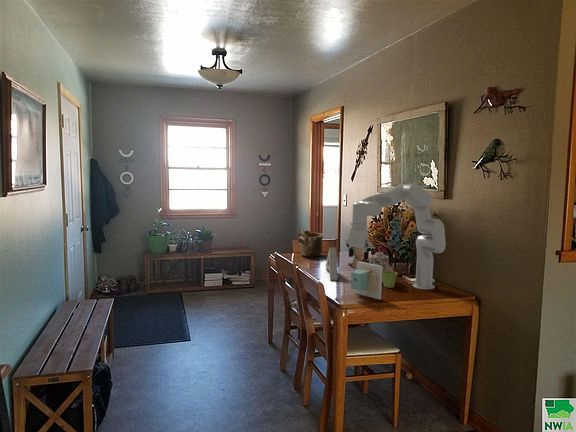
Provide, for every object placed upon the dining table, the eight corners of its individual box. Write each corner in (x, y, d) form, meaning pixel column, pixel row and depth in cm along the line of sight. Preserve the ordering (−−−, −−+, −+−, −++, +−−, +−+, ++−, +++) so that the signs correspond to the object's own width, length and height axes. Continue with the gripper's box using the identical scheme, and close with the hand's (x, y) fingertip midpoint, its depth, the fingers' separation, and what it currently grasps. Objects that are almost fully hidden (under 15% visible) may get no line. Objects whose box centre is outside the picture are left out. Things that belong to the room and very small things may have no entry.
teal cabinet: (362, 284, 242) (362, 268, 241) (371, 286, 238) (371, 270, 237) (350, 288, 235) (350, 272, 234) (359, 291, 231) (359, 274, 229)
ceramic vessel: (337, 247, 349) (319, 223, 342) (314, 267, 345) (296, 243, 339) (327, 242, 370) (310, 219, 364) (305, 261, 367) (287, 238, 360)
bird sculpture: (346, 265, 323) (347, 222, 319) (361, 264, 326) (362, 222, 322) (353, 269, 312) (353, 224, 309) (368, 268, 315) (368, 224, 312)
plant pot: (378, 284, 268) (379, 270, 267) (394, 284, 268) (394, 270, 268) (383, 288, 258) (383, 274, 258) (398, 288, 259) (399, 274, 258)
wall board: (356, 292, 248) (358, 261, 246) (380, 299, 237) (382, 266, 235) (351, 294, 244) (352, 262, 242) (375, 300, 233) (376, 267, 231)
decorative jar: (388, 279, 282) (389, 251, 280) (387, 283, 271) (388, 254, 269) (369, 277, 285) (370, 250, 284) (367, 281, 274) (368, 253, 273)
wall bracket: (332, 296, 299) (337, 279, 273) (326, 295, 299) (330, 279, 273) (331, 266, 310) (336, 247, 284) (325, 265, 310) (329, 247, 284)
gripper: (341, 224, 234) (341, 256, 236) (368, 228, 222) (367, 261, 224) (350, 223, 239) (349, 254, 241) (377, 227, 227) (376, 259, 229)
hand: (358, 258), depth 232 cm, fingers open, 9 cm apart
